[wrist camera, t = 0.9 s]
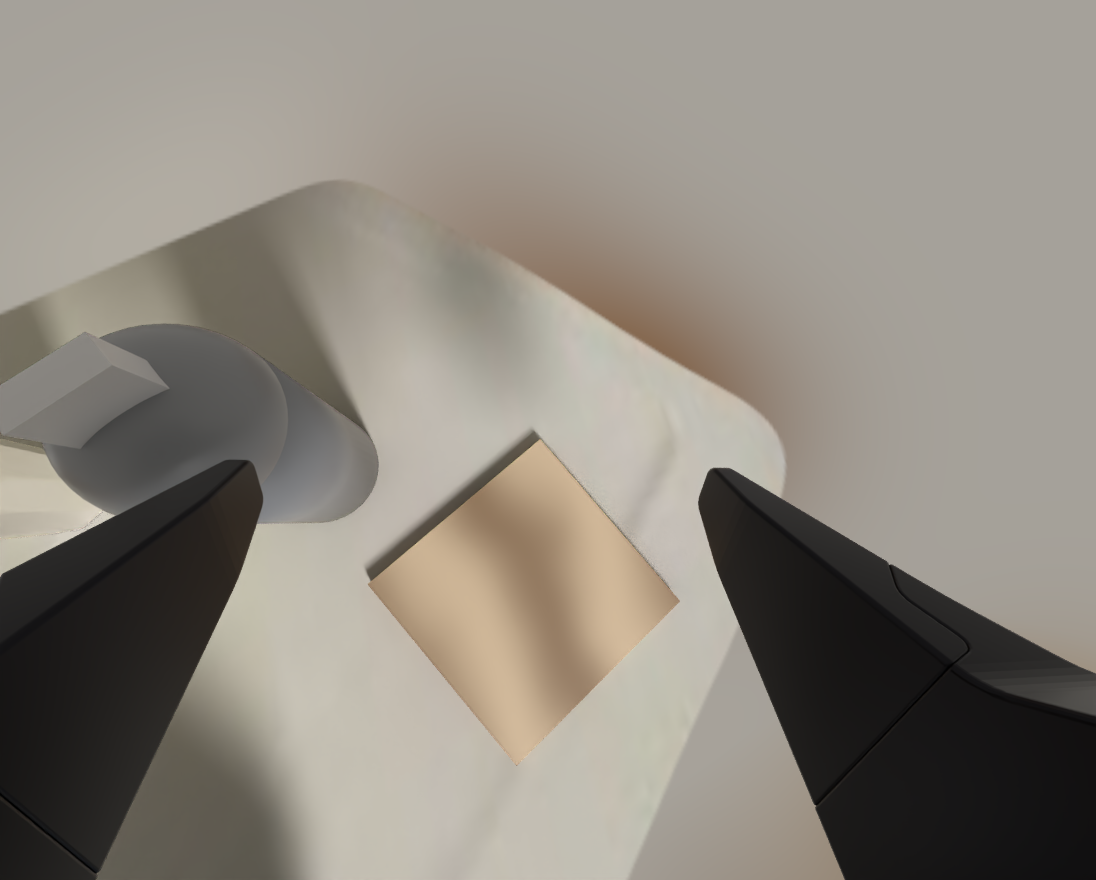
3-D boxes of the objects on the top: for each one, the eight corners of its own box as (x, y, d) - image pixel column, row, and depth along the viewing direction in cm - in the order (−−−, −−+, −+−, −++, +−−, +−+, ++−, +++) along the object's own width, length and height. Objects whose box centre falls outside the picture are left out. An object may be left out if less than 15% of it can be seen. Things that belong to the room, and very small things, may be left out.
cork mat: (515, 758, 21) (516, 765, 20) (370, 582, 21) (367, 584, 21) (675, 599, 23) (680, 601, 22) (539, 441, 23) (540, 438, 23)
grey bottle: (310, 546, 21) (-10, 592, 8) (241, 461, 21) (-188, 361, 8) (400, 473, 22) (258, 401, 9) (333, 393, 22) (92, 201, 9)
